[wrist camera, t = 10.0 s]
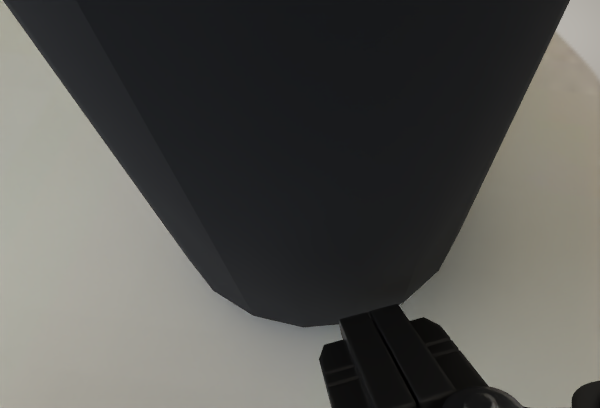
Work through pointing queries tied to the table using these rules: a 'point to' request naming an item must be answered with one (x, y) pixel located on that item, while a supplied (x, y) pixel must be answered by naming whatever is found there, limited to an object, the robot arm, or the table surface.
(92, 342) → the table surface
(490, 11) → the coffee jar
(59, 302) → the table surface
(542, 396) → the table surface
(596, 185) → the table surface
